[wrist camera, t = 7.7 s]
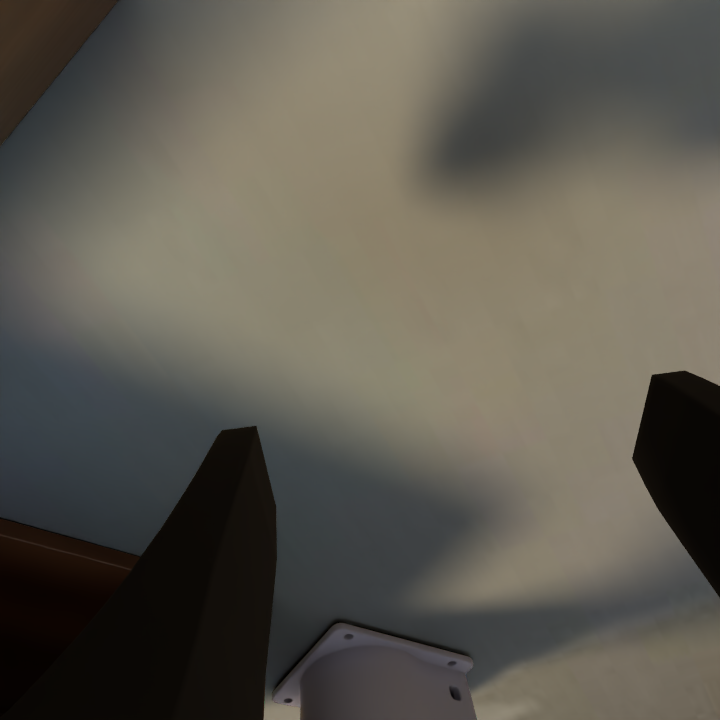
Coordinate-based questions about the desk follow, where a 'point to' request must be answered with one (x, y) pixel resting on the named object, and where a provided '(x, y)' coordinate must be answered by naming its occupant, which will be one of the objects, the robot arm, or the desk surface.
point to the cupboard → (48, 599)
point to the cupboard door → (39, 48)
